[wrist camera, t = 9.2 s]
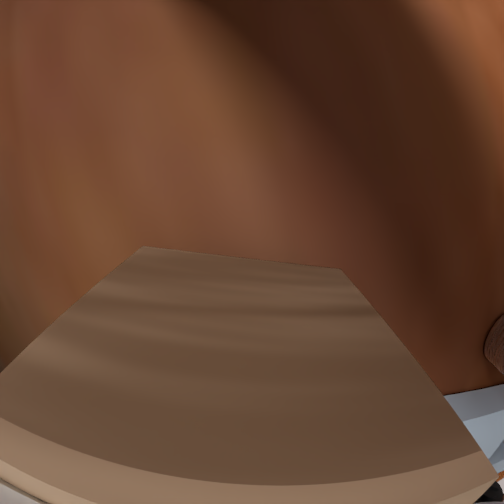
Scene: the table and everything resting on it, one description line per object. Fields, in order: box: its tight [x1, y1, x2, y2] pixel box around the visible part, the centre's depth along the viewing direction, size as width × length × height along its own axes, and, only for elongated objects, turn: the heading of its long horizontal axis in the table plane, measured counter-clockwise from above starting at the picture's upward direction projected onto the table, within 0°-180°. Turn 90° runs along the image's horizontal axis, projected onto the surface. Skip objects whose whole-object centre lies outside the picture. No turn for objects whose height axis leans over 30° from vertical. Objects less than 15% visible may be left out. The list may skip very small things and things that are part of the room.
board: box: [444, 384, 504, 473], centre depth 12 cm, size 10×26×8 cm, turn 83°
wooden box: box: [0, 246, 499, 504], centre depth 7 cm, size 7×7×9 cm
